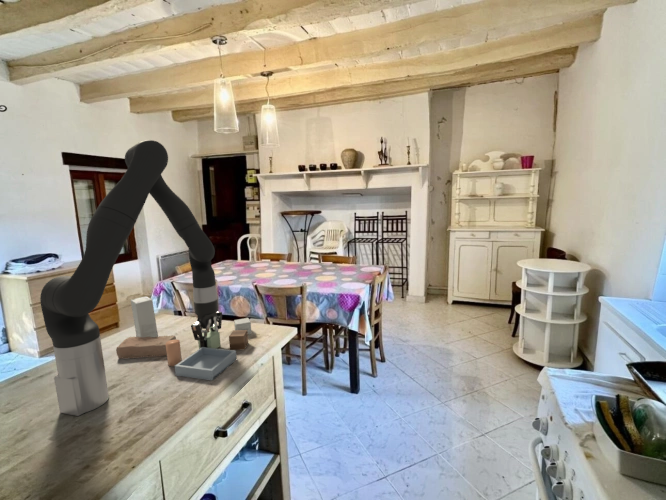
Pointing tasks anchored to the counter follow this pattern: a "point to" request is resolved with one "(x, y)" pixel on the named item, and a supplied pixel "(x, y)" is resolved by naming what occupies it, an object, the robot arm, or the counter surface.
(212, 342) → the green block
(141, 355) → the brick
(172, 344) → the peach capsule
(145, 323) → the skincare box
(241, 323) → the small box
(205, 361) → the tray
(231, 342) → the walnut cube
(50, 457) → the counter surface
